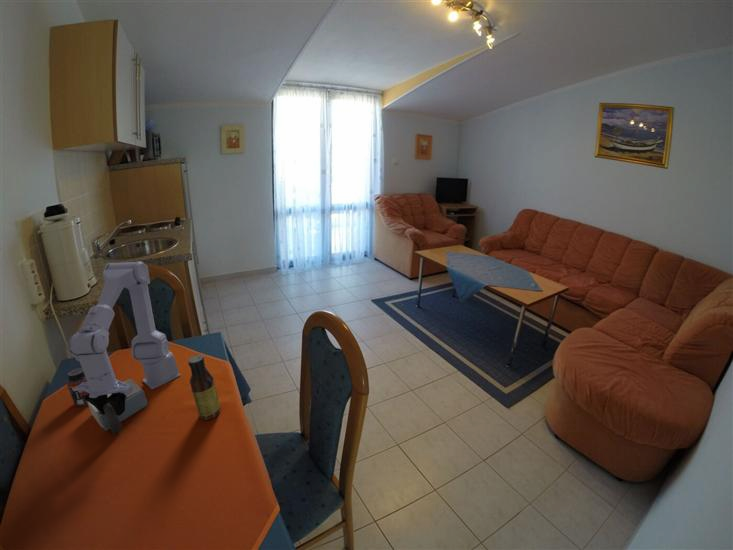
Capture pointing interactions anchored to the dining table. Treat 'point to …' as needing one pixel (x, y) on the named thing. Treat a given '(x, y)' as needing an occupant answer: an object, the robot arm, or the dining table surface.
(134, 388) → the carton
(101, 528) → the dining table surface
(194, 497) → the dining table surface
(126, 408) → the dark grey door handle
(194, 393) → the sauce bottle
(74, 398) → the supplement bottle
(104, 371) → the robot arm
